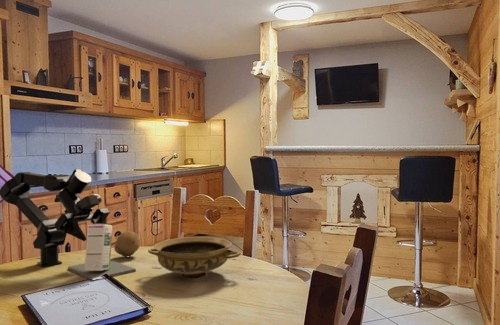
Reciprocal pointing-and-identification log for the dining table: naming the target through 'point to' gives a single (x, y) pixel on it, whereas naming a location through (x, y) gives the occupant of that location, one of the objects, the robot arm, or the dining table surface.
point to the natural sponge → (127, 243)
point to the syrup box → (98, 247)
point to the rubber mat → (113, 271)
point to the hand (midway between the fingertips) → (96, 237)
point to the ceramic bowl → (193, 255)
